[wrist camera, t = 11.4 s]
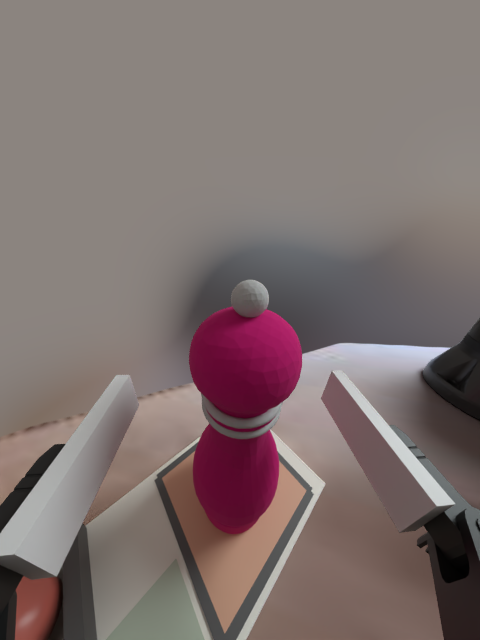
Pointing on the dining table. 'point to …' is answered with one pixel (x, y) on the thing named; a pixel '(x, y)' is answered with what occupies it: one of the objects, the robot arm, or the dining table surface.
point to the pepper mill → (241, 405)
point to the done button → (37, 607)
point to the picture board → (179, 560)
